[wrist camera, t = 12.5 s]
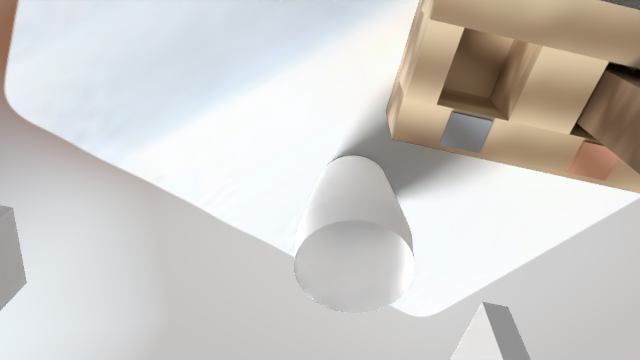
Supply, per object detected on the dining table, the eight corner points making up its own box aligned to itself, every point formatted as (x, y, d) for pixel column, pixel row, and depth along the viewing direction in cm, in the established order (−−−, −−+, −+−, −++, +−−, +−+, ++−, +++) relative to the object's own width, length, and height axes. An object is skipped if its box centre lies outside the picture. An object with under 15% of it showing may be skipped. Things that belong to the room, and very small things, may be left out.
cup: (413, 156, 39) (436, 235, 29) (382, 232, 44) (393, 325, 33) (318, 132, 39) (307, 204, 28) (296, 211, 43) (280, 299, 33)
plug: (578, 56, 33) (683, 110, 23) (627, 67, 33) (753, 126, 23) (553, 104, 35) (640, 175, 25) (599, 114, 35) (704, 189, 25)
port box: (431, -41, 31) (449, -36, 26) (686, 21, 32) (755, 38, 27) (385, 110, 37) (392, 140, 32) (602, 158, 38) (644, 195, 33)
